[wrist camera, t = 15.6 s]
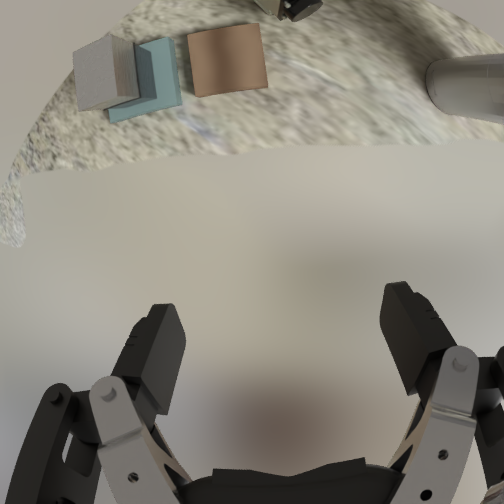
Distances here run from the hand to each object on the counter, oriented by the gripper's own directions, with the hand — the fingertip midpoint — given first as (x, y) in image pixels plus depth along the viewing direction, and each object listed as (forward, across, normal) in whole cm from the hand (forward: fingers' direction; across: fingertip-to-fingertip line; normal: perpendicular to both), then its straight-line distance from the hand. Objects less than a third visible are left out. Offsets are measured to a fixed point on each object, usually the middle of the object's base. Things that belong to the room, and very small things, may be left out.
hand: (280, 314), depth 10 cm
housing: (+27, +15, -15) cm, 35 cm away
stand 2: (+30, +3, -15) cm, 34 cm away
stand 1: (+30, +15, -15) cm, 37 cm away
